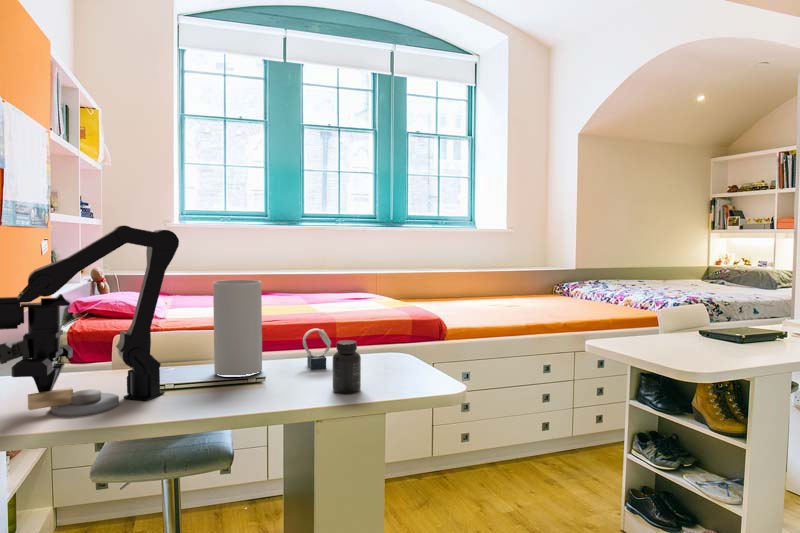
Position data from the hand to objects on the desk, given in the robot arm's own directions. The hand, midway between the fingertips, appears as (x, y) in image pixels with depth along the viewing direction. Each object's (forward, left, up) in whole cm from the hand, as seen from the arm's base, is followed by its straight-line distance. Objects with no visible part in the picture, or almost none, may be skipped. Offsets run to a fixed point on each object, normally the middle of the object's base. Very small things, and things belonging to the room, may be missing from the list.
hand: (44, 399), depth 119 cm
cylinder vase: (-23, -40, -3) cm, 46 cm away
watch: (-41, -52, -3) cm, 66 cm away
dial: (-4, -1, -1) cm, 4 cm away
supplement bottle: (-57, -32, -3) cm, 65 cm away
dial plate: (-6, -5, -3) cm, 8 cm away
